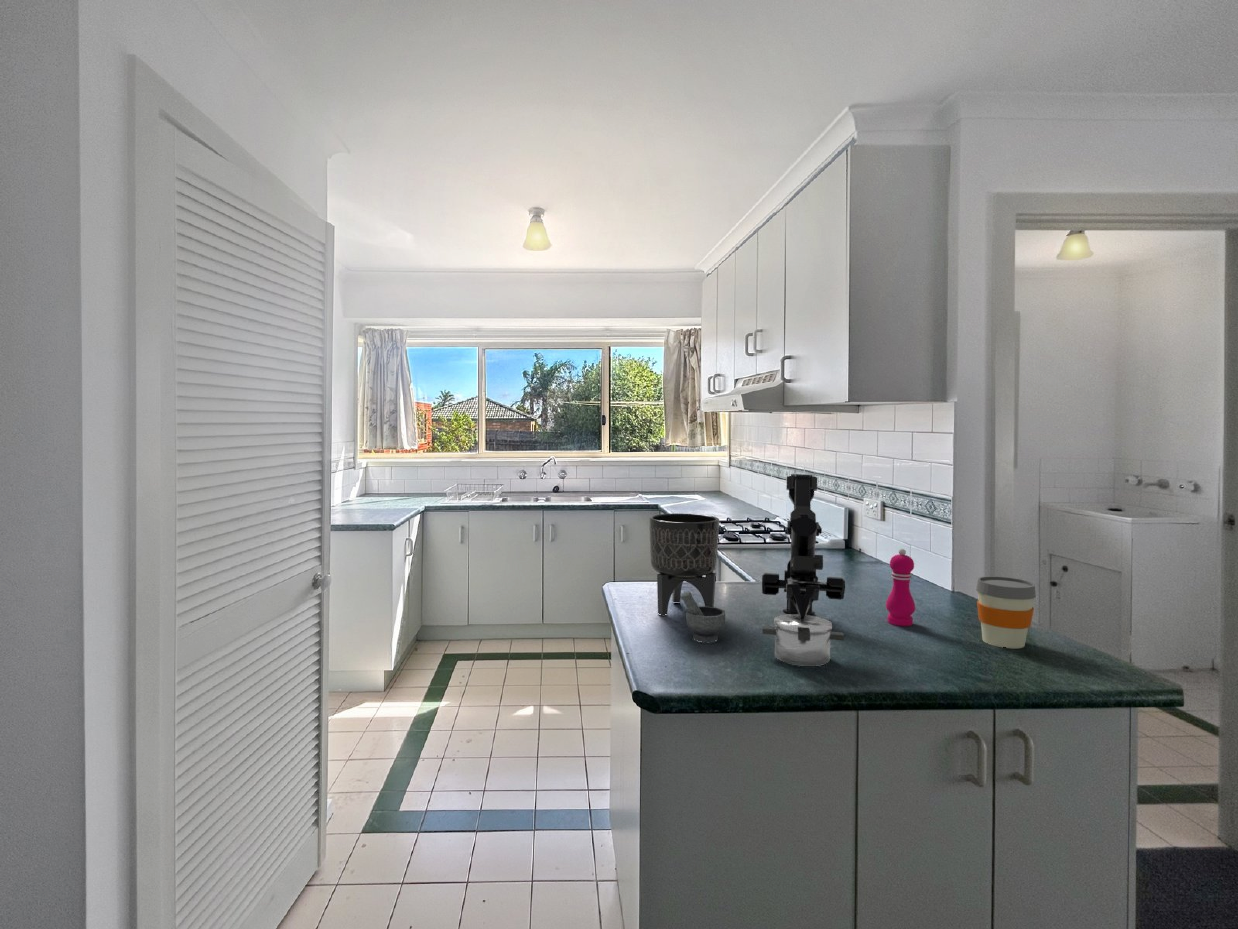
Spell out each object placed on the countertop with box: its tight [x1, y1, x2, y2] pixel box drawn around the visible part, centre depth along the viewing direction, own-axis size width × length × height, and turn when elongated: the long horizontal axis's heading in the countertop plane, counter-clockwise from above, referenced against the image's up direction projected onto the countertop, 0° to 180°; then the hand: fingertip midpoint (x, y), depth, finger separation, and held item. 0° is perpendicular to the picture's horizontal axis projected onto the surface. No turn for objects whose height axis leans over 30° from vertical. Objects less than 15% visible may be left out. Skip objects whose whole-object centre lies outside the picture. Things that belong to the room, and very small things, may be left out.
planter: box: [648, 512, 720, 615], centre depth 187 cm, size 20×20×26 cm
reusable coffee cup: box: [975, 575, 1037, 649], centre depth 162 cm, size 13×13×15 cm
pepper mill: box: [885, 548, 916, 627], centre depth 178 cm, size 7×7×20 cm
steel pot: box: [761, 625, 845, 666], centre depth 150 cm, size 12×18×7 cm
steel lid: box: [773, 613, 833, 641], centre depth 148 cm, size 18×13×1 cm
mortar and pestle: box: [680, 590, 726, 643], centre depth 162 cm, size 11×9×12 cm
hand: (802, 618), depth 152 cm, fingers closed
